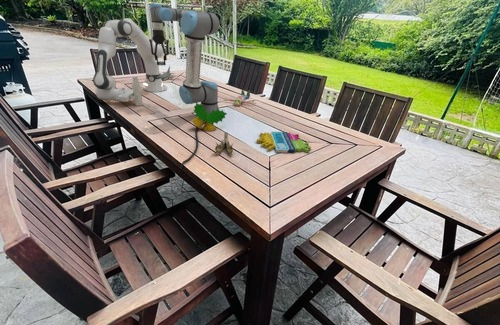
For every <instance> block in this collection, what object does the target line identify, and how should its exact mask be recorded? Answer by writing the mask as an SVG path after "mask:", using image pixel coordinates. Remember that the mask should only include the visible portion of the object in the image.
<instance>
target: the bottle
mask: <svg viewBox="0 0 500 325" xmlns="http://www.w3.org/2000/svg"><path fill="white" fill-rule="evenodd" d="M131 88H132V90H133V95H134V96H138V98H137V99H133V101H134V106H136V107H137V106H138V107H140V106H143V105H144V102H143V95H142V88H141V83H140V81H139V78H138V76H137V75H133V76H132V83H131Z"/></svg>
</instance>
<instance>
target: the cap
mask: <svg viewBox="0 0 500 325" xmlns="http://www.w3.org/2000/svg"><path fill="white" fill-rule="evenodd" d="M158 65H159V66H165V65H164V60H163V61H162V60H158Z"/></svg>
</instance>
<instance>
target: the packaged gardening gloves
mask: <svg viewBox="0 0 500 325" xmlns="http://www.w3.org/2000/svg"><path fill="white" fill-rule="evenodd" d="M299 136H300V135H299V134H298V133H296V134H294V133H291V132H287V131H270V132H264V133H263V132H260V133H259V139H258V138H257V139H256V143H257V144H261V148H263V147H264V148H265V149H267V151H268V152H271V151H272V150H273V149H275V152H276V153H283V154H285V153H287V154H288V153H290V154H293V153H296V152H298V153H301V152H305V153H310V151H311V150H312V149H311V148H312V146H309V142H304V141H303V139H302V138H299Z"/></svg>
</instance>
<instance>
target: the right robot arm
mask: <svg viewBox="0 0 500 325" xmlns="http://www.w3.org/2000/svg"><path fill="white" fill-rule="evenodd" d="M149 12H150V21H151V29H152V31H151V32H152V38H150V39H149V41H150V45H151V53H152V55H154V56H155V58H154V59H155V61H156V62H157V65H158V61H159V58H158V56H157V55H156V54H157V46H158V45H160V46H162V49H163V52H164V54H163V56H162V58H163V62H164V65H163V66H166V61H167V58H168V57H167V56H169V55H170V50H169V48H170V47H169V42H170V40H169V39H166V38H165V31H164V22H180V28H181V29H180V30H181V32H182V34H184V38H185V39H186V55H185V56H186V57H185V63H186V64H185V79H184V80H183V81H182V85H181V86H179V88H178V94H179V97H180V100H181V101H182V102H183V103H184V104H185V105H193V104H196V102H197V103H198V104H199V103H200V104H201V106H204V109H206V112H208V113H211V112H212V110H214V111H216V110H217V109H219V111H221V110H220V108H219V102H218V99H219V98H218V97H219V87H218V84H217V83H216V82H214V81H210V80H201V79H200V78H201V65H202V64H201V62H202V51H203V50H202V49H203V42H204V41H205V40H206V36H210V35H214V34H216V33H217V32H218V31H219V28H220V19H219V17H218V16H217V15H216V14H215V13H213V12H210V11H199V10H189V9H186V8H174V7H164V6H162V4H161V3H154V2H151V3H149ZM153 41H154V42H155V52H154V53H153V45H152V42H153ZM164 43H165V45H164ZM208 113H207V115H208ZM203 125H205V121H204V123H203ZM195 127H196V128H195V132H194V133H195V140H196V141H195V142H196V144H195V149H194V151H193V152H192V154H191V155H190V156H189V157H188V158H187V159H184V160H183V161H182V162H181V164H180V166H179V168H180V169H182V168H183V166H184V164H185V163H187V162H189V161H190V160H191V159H192V158H193V157H194V155H195V154H196V152H197V150H198V148H199V138H198V129H199V128H198V127H197V126H195Z"/></svg>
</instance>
